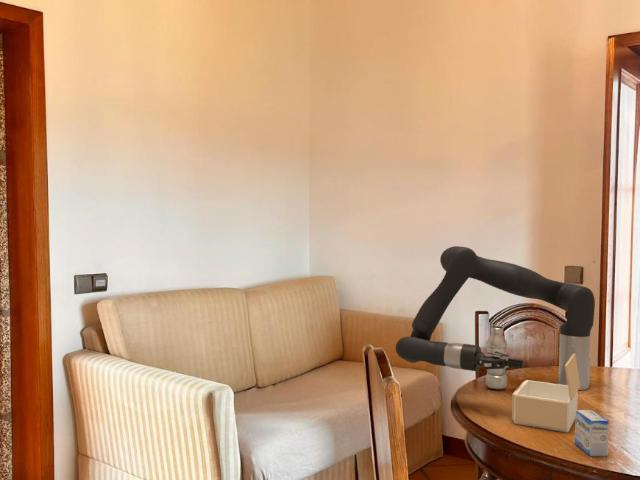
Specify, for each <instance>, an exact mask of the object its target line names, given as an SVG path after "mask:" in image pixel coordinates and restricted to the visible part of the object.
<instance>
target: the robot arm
mask: <svg viewBox="0 0 640 480" xmlns="http://www.w3.org/2000/svg"><path fill="white" fill-rule="evenodd" d="M439 260H440V261H439V262H440V264H441V268H442V269H443V270H444V271H445V274H444V276H443V278H442V279H441V281H440V283H439V284H438V286H437V287H436V288H435V289H434V291H432V293H430V295H429V296H428V297H427V298H426V299H425V301H424V302H423V303H422V305H421V306H420V308H419V310H418V311H417V313H416V314H415V317H414V319H413V321H412V322H411V323H412V324H411V327H412V330H411V331H412V332H411V334H410V336H403V337H402V338H400V339H399V340H398V341H397V342H396V344H395V352H396V354H397V355H398V357H399V358H401V359H402V360H404V361H406V362H408V363H410V364H411V363H412V364H415V363H418V362H425V363H429V364H431V365H434V366H439V367H440V366H441V367H447V368H452V369H457V370H465V371H470V372H478V371H479V369H480V367H483V369H484V370H487V369H504V368H506V369H508V368H515V369H523V367H524V361H525V360H523V359H519V358H511V357H510V355H508V354H507V353H506V354H503V353H500V352H497V351H496V352H495V353H493V352H487V351H486V352H482V348H481V347H480V346H479V344H478V345H477V344H469V343H462V342H445V341H433V340H431V338H432V336H433V333H434V332H435V331H436V328H437V326H438V325H439V323H440V322H441V319H442V318H443V315H444V314H445V312H446V310H447V309H448V307H449V306H450V304H451V302H452V301H453V299H454V298H455V297H456V295H457V294H458V293H459V291H460V290H461V289H462V287H463V286H464V284H465V283H466V282H467V281H468V279H472V280H477V281H479V282H482V283H484V284H486V285H488V286H491V287H493V288H496V289H497V290H500V291H503V292H506V293H509V294H512V295H514V296H516V297H517V296H518V297H522V298H527V299H535V300H540V301H543V302H546V303H547V304H550V305H553V306H555V307H557V308H559V309H561V310H563V311H565V312H567V314H566V320H565V322H564V323H561V324H560V325H559V349H558V351H559V352H558V356H559V357H558V382H557V384H560V385H567V386H568V383H567V377H566V371H565V365H566V363H567V362H568V361H569V359H570V358H571V356H572V355H573V354H575V355H576V361H577V368H578V374H579V380H580V387H579V389H578V391H585V390H587V389H589V388H590V383H591V379H590V376H591V356H590V355H591V353H590V352H591V332H592V331H591V330H592V328H593V326H594V323H595V322H594V319H595V309H596V308H595V306H596V301H595V295H594V292H593V291H592V290H591V289H590V288H589V287H587V286H583V285H579V284H574V283H568V282H567V283H566V282H563V281H562V282H561V281H558V280H557V281H556V280H552V279H550V278H547V277H545V276H543V275H541V274H540V273H538V272H536V271H534V270H532V269H529V268H527V267H524V266H521V265H518V264H514V263H510V262H506V261H502V260H501V261H500V260H497V259H490V258H484V257H483V256H479V255H477V254H476V252H475V251H474V250H473V249H472V248H470V247H468V246H459V245H458V246H457V245H455V246H450V247H447V248H445V250H444V251H442V252H441V254H440V259H439Z"/></svg>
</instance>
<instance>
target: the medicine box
mask: <svg viewBox="0 0 640 480" xmlns="http://www.w3.org/2000/svg"><path fill="white" fill-rule="evenodd" d="M574 423H575V424H574V426H575V427H574V444H575V446H577V447H578V448H579V449H581V450H582V451H583V452H585V454H587V455H588V456H590V457H606V456H607V457H608V451H609V429H610V428H609V425H610V424H609V420H608V419H606V418H604V417H603V416H601V415H600V414H598V413H596V412H595V411H594V410H592V409H591V410H590V409H581V410H580V409H577V411H576V418H575V420H574Z"/></svg>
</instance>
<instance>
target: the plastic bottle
mask: <svg viewBox="0 0 640 480" xmlns="http://www.w3.org/2000/svg"><path fill="white" fill-rule="evenodd" d="M490 330H491V331H490V333H491V334H490V336H488V338H487V340H486V344H485V345H486V352H493V353H495V352H496V351H497V352H500V353H503V354H506V355H507V351H508V342H507V339H506V338H505V336H504V326H500V325H493V326H491V328H490ZM506 370H507V368H504V369H486V376H485V384H486V386H487V387H488V388H489V389H494V390H503V389H506V388H507V385H508V377H507V371H506Z"/></svg>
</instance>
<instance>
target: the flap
mask: <svg viewBox="0 0 640 480" xmlns="http://www.w3.org/2000/svg"><path fill="white" fill-rule="evenodd" d="M565 371H566V377H567V383H568V390H569V396H570V400H573V398H574V396H575V394H576V392H577V391H578V392H579V390H578V389H579V387H580V380H579V374H578V368H577V361H576V355H575V354H573V355H572V356H571V358H570V359H569V361H568V362H567V363H566V365H565Z"/></svg>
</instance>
